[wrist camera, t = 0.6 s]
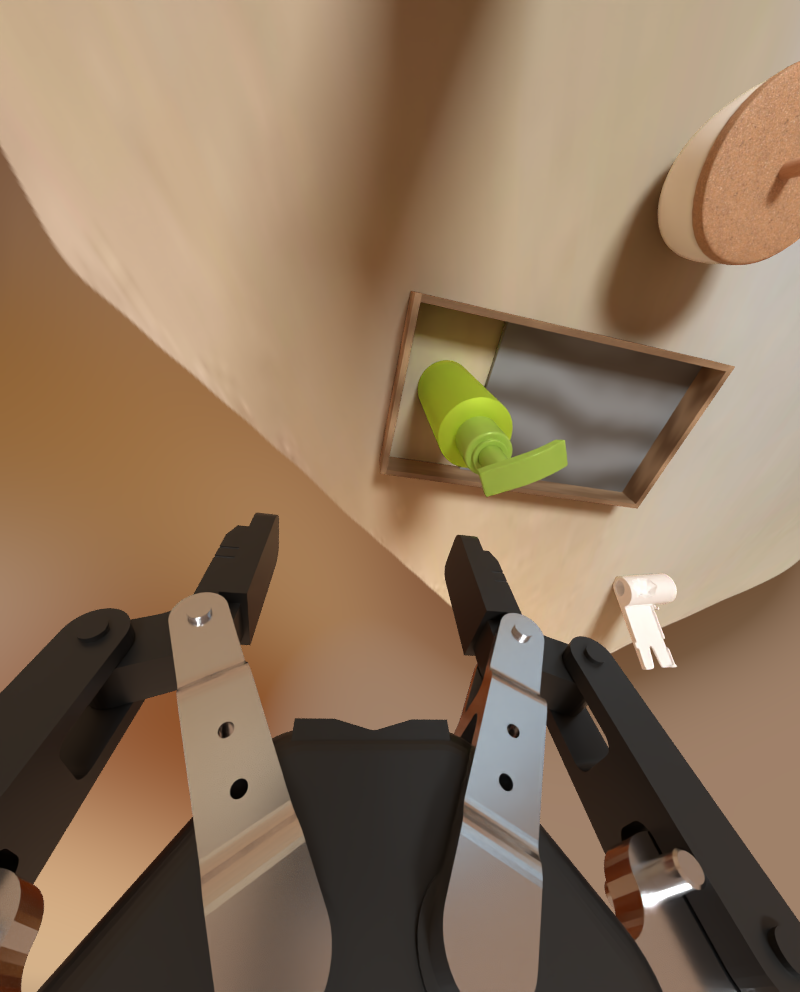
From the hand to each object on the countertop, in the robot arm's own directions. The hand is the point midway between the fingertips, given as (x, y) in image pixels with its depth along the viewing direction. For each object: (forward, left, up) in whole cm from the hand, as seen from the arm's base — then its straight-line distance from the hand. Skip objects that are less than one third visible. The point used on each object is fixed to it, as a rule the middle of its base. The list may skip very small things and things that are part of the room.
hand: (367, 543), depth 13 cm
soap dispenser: (0, +9, -28) cm, 29 cm away
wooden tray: (+1, +20, -28) cm, 34 cm away
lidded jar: (-20, +26, -28) cm, 43 cm away
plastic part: (+28, +50, -28) cm, 64 cm away
